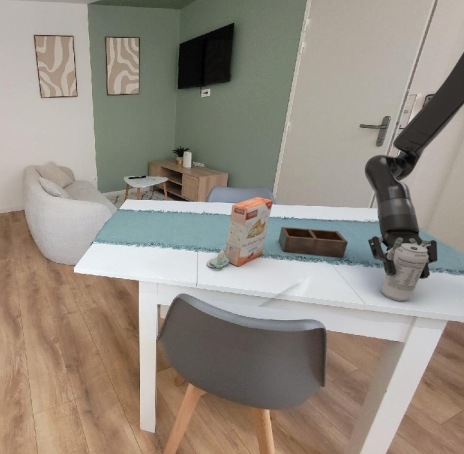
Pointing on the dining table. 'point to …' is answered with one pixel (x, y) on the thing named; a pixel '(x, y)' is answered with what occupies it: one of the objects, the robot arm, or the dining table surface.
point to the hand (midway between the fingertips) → (407, 276)
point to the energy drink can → (405, 271)
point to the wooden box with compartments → (312, 242)
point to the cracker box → (247, 230)
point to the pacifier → (218, 260)
